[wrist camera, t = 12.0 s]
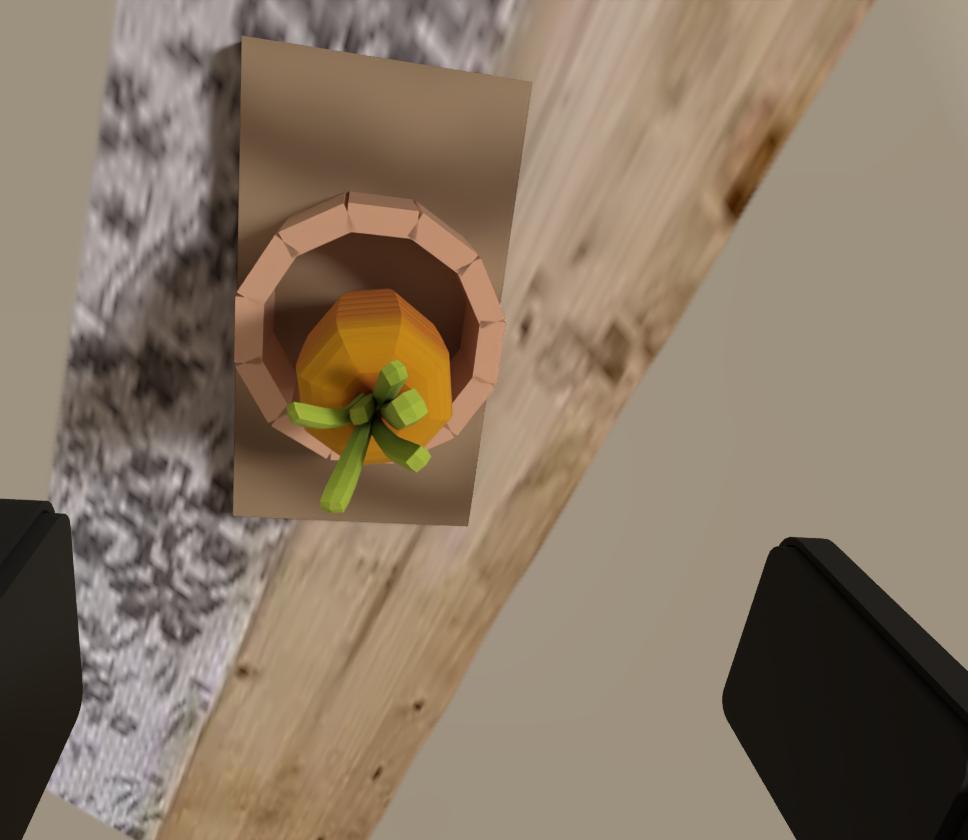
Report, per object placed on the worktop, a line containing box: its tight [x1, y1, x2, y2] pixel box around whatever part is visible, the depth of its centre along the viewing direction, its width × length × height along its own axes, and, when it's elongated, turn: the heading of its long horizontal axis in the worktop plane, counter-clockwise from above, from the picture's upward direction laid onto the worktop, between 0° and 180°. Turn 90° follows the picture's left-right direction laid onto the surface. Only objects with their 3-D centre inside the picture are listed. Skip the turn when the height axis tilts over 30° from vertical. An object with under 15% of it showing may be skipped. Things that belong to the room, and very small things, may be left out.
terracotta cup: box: [234, 192, 506, 464], centre depth 30 cm, size 10×10×4 cm
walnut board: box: [233, 36, 532, 526], centre depth 33 cm, size 20×11×2 cm, turn 172°
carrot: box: [286, 288, 453, 513], centre depth 25 cm, size 5×5×15 cm
